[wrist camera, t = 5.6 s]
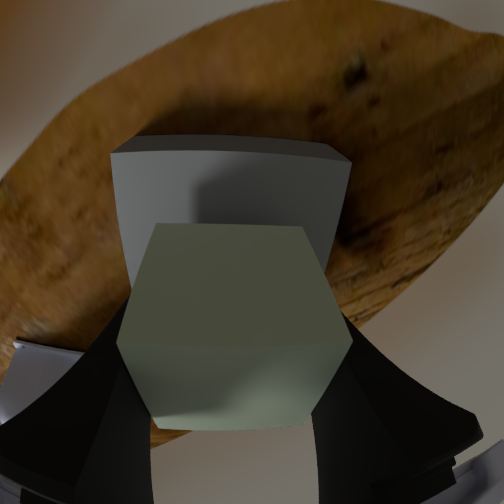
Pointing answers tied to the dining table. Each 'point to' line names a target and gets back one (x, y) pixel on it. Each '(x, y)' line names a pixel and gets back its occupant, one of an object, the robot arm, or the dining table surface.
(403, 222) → the dining table surface
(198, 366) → the green cube
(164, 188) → the gray plinth
